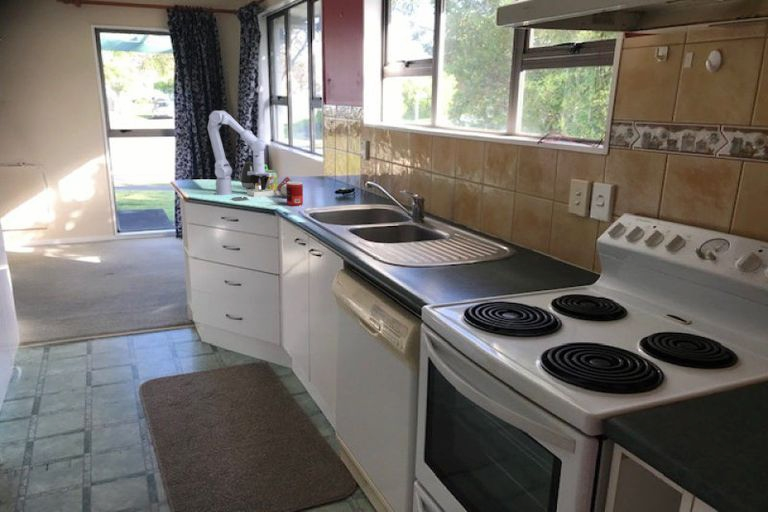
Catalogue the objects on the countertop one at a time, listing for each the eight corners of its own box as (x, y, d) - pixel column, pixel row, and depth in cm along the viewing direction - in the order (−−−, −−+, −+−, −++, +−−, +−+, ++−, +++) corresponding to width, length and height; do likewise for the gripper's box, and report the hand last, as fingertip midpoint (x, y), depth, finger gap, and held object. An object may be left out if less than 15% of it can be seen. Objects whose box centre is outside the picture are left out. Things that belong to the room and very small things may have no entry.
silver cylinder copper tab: (258, 194, 312) (257, 182, 310) (264, 194, 310) (264, 182, 308) (253, 195, 308) (253, 183, 306) (259, 195, 306) (259, 183, 305)
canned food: (305, 204, 286) (305, 181, 284) (298, 206, 279) (297, 183, 276) (291, 203, 289) (291, 181, 286) (284, 205, 281) (283, 183, 279)
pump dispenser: (262, 187, 340) (261, 161, 336) (249, 189, 331) (248, 163, 327) (250, 186, 345) (249, 160, 341) (237, 188, 337) (235, 161, 333)
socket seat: (229, 200, 295) (229, 197, 295) (244, 199, 299) (244, 196, 299) (234, 202, 288) (234, 199, 288) (250, 201, 293) (250, 198, 292)
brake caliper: (302, 191, 310) (296, 175, 301) (296, 206, 303) (291, 190, 294) (282, 190, 312) (276, 174, 303) (276, 205, 306) (270, 189, 296)
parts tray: (246, 195, 311) (246, 189, 311) (266, 193, 317) (265, 188, 317) (254, 198, 303) (254, 192, 302) (274, 196, 308) (273, 190, 308)
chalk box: (269, 192, 322) (268, 165, 318) (255, 191, 325) (254, 165, 321) (278, 190, 330) (277, 164, 326) (264, 189, 333) (263, 163, 329)
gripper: (243, 163, 305) (244, 189, 309) (265, 165, 299) (266, 191, 302) (251, 162, 311) (253, 187, 315) (273, 164, 305) (274, 189, 309)
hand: (260, 189), depth 309 cm, fingers closed on silver cylinder copper tab, 4 cm apart
